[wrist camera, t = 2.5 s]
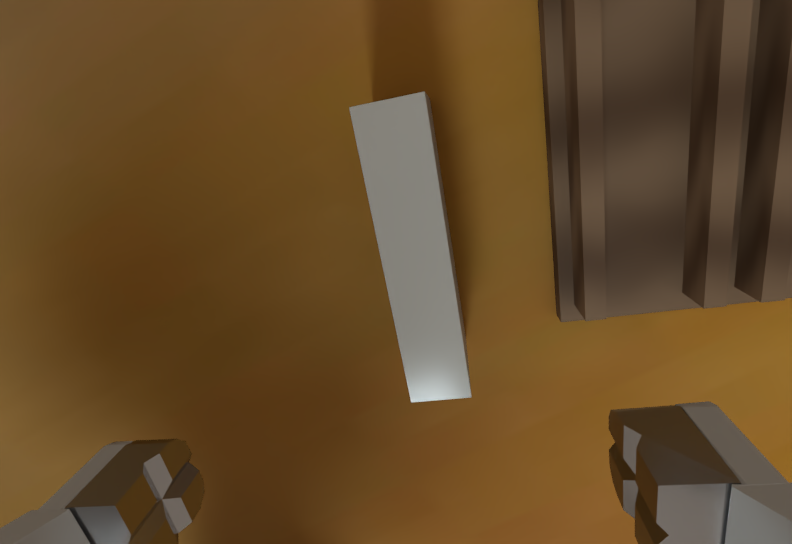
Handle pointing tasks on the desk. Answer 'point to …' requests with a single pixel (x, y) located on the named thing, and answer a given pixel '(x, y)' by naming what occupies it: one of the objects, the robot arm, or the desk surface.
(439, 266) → the gray rectangular block
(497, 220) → the desk surface
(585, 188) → the rack
